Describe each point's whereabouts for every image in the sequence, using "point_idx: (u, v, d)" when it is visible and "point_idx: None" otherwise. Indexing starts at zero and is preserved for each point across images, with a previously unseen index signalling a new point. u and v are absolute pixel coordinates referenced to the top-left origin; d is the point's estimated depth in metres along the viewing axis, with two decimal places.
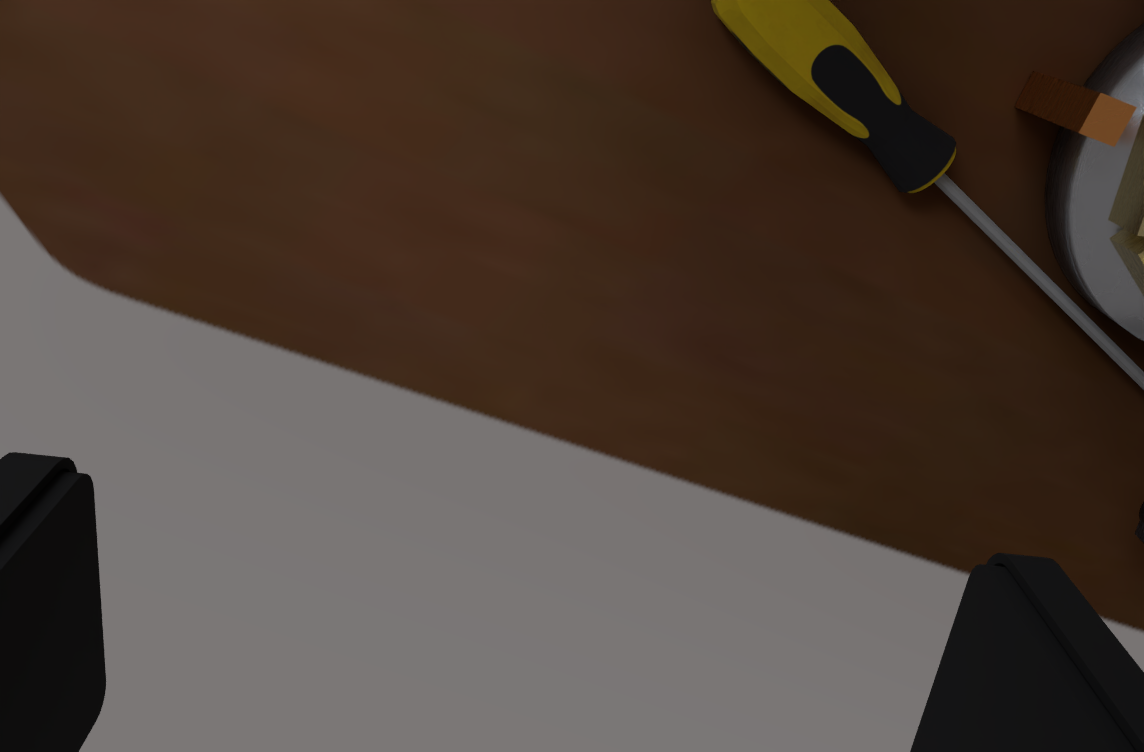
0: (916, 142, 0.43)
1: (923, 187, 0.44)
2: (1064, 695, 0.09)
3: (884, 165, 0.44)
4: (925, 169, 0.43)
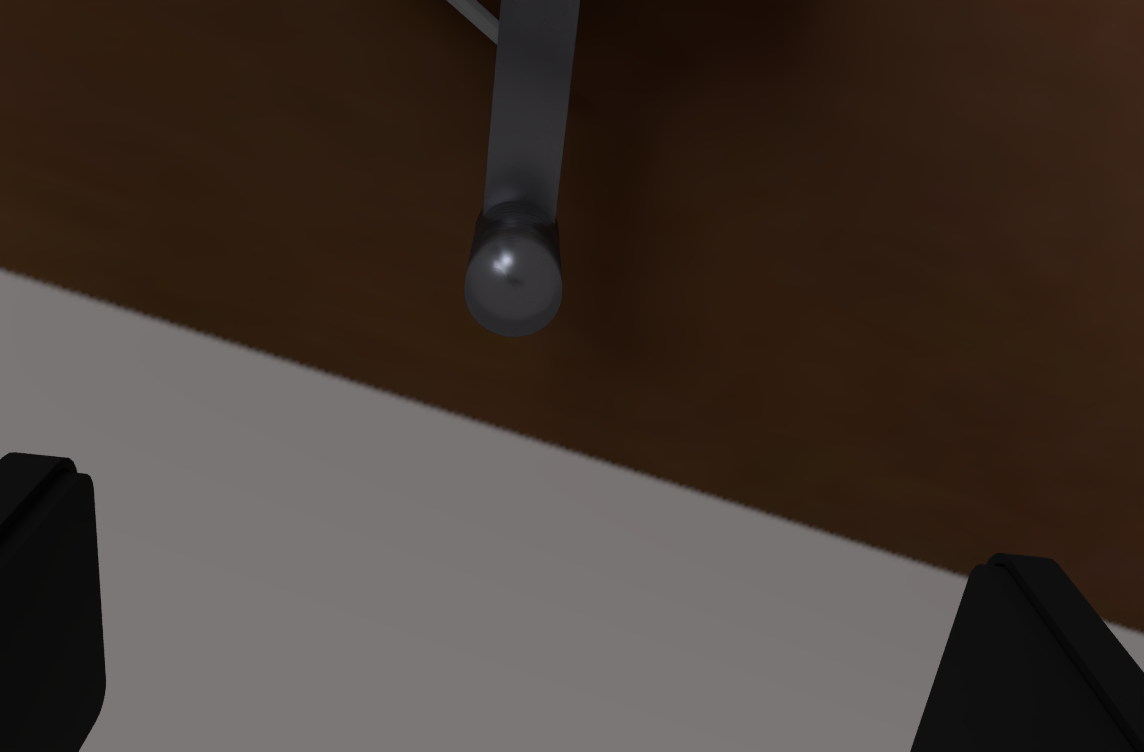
0: None
1: None
2: (1064, 695, 0.09)
3: None
4: None
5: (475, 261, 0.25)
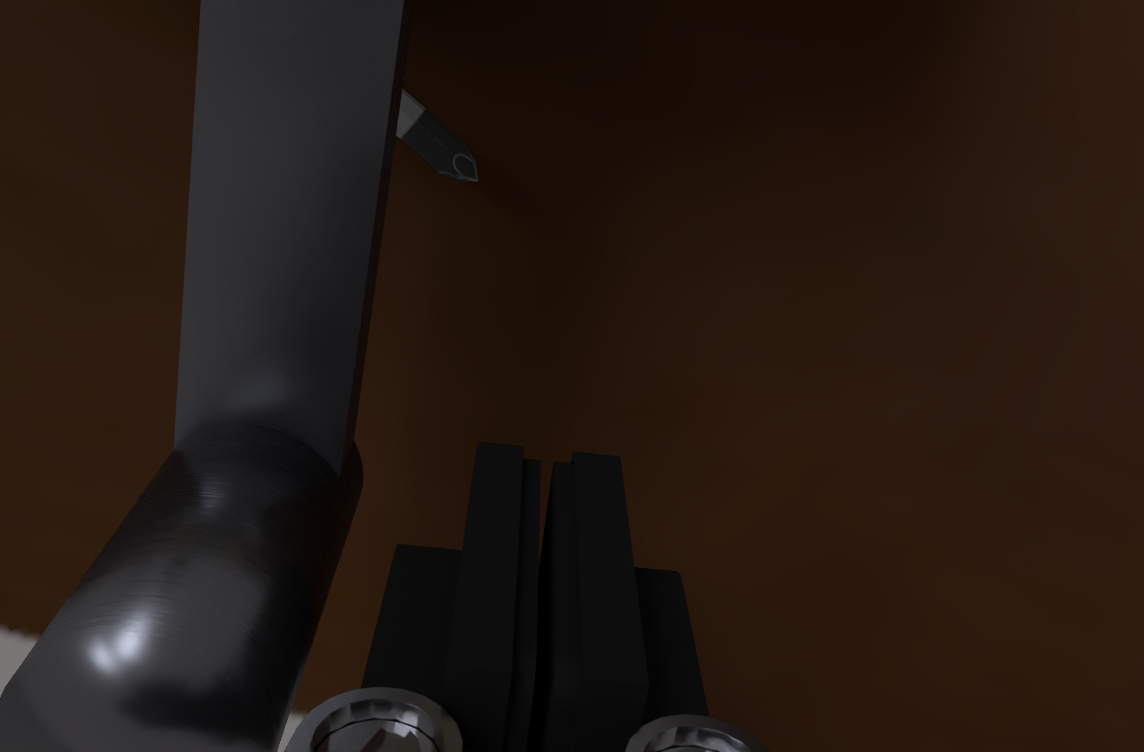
0: None
1: None
2: (555, 563, 0.10)
3: None
4: None
5: (20, 669, 0.09)
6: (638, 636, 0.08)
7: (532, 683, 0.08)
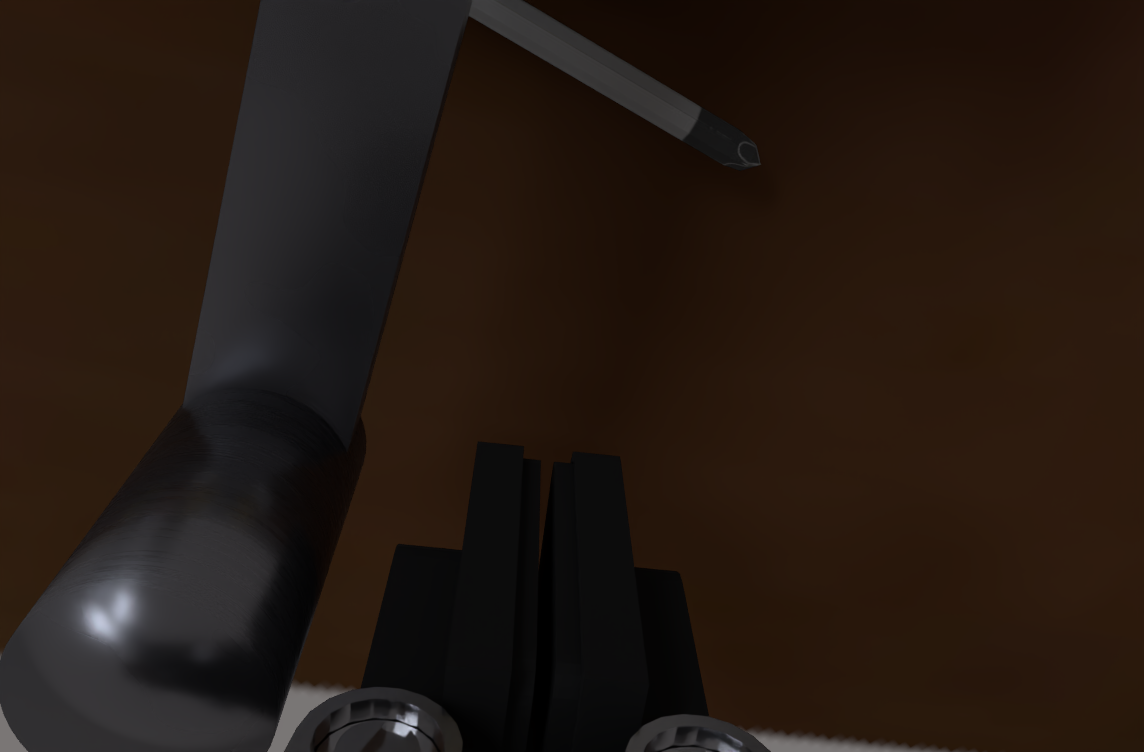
0: None
1: None
2: (555, 563, 0.10)
3: None
4: None
5: (33, 616, 0.09)
6: (638, 636, 0.08)
7: (532, 683, 0.08)
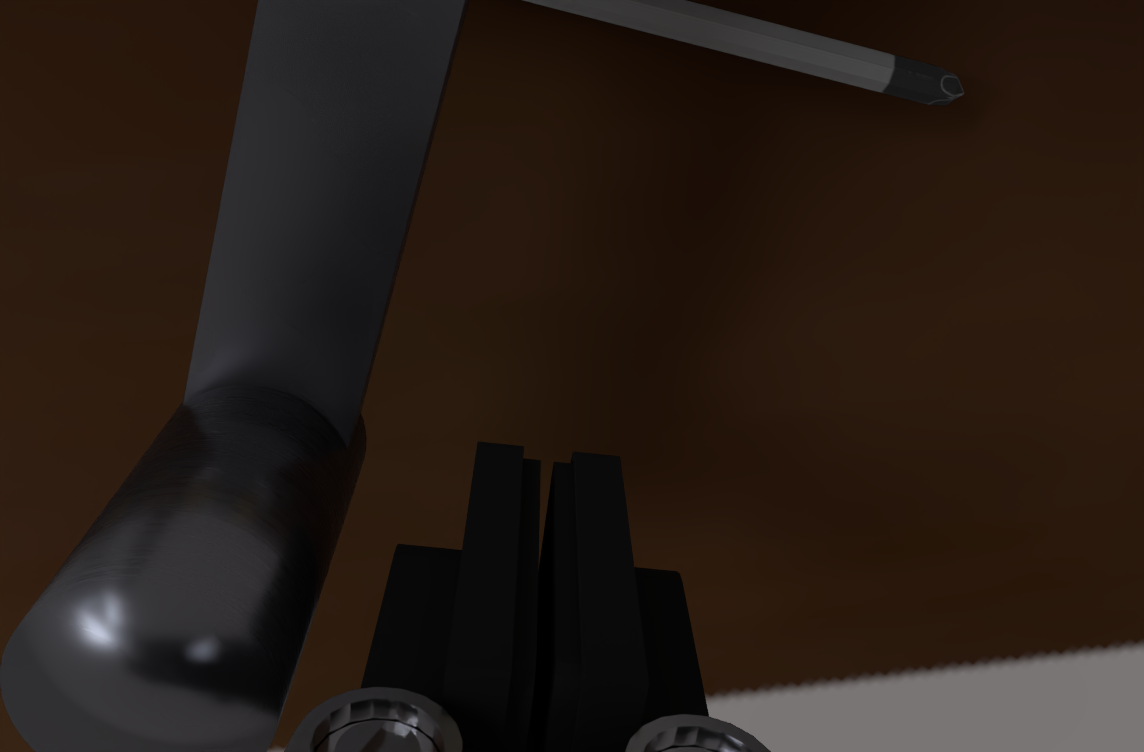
0: None
1: None
2: (555, 563, 0.10)
3: None
4: None
5: (35, 611, 0.09)
6: (638, 636, 0.08)
7: (532, 683, 0.08)
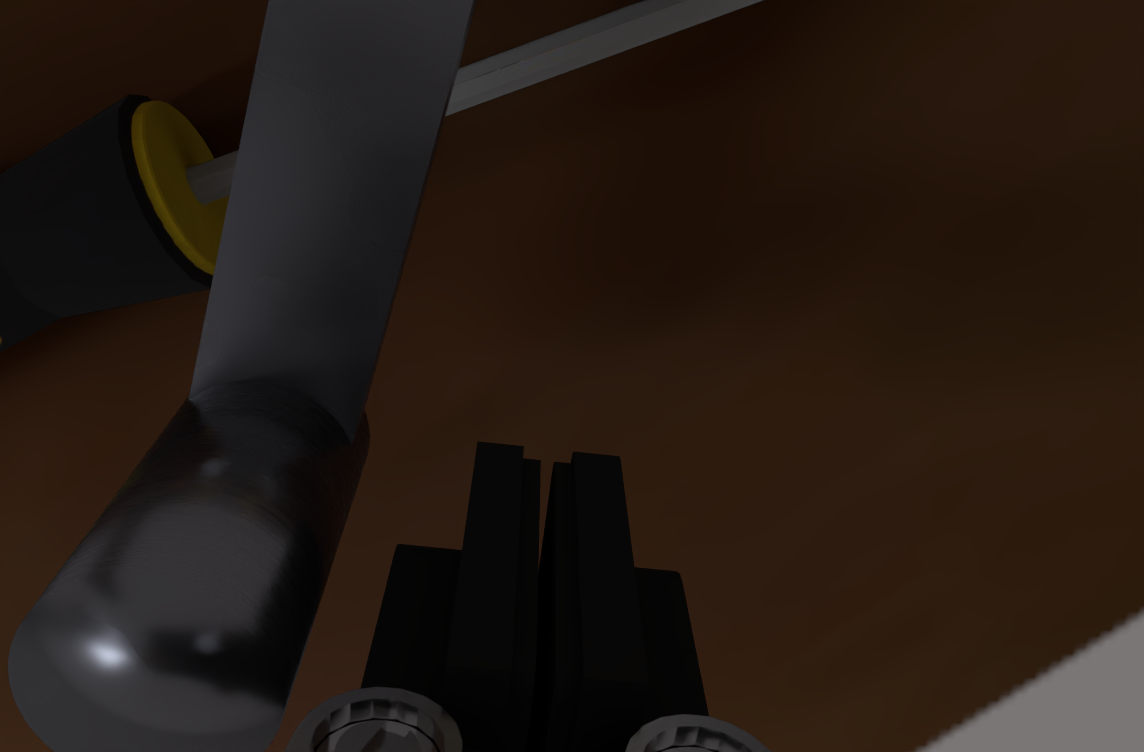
0: (41, 232, 0.15)
1: (193, 256, 0.15)
2: (555, 563, 0.10)
3: (117, 306, 0.16)
4: (125, 243, 0.15)
5: (44, 599, 0.09)
6: (638, 636, 0.08)
7: (532, 683, 0.08)
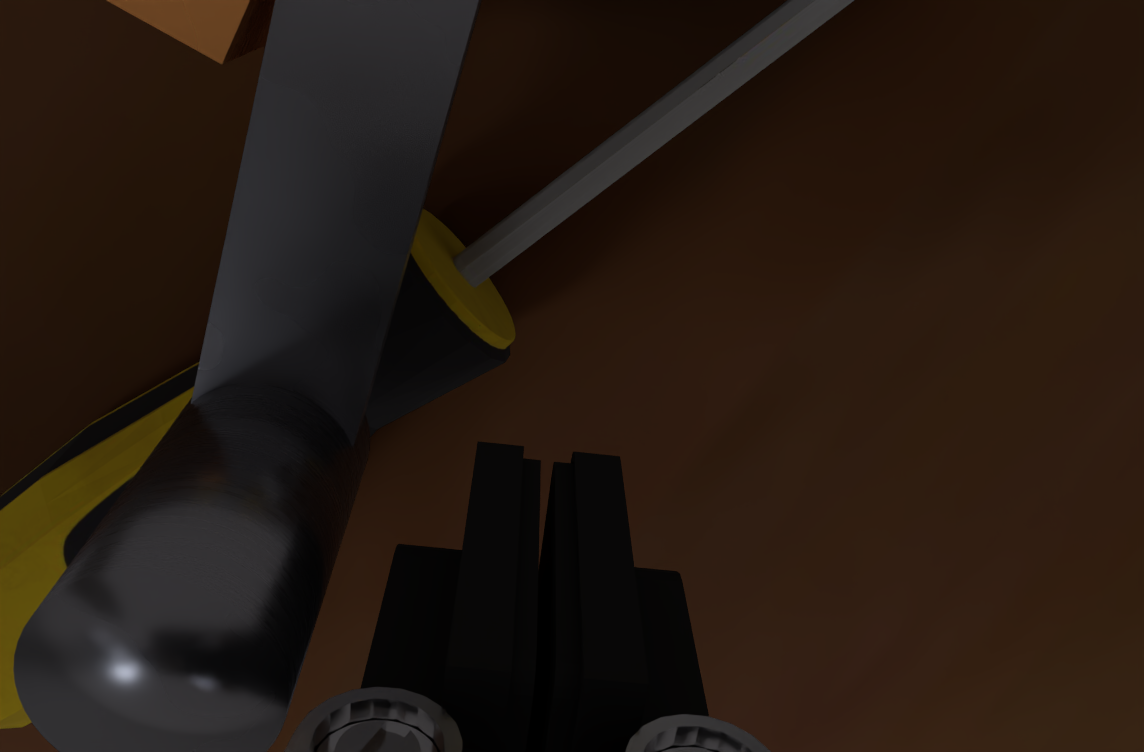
0: None
1: (488, 336, 0.16)
2: (555, 563, 0.10)
3: (424, 403, 0.17)
4: (429, 343, 0.15)
5: (50, 599, 0.09)
6: (638, 636, 0.08)
7: (532, 683, 0.08)
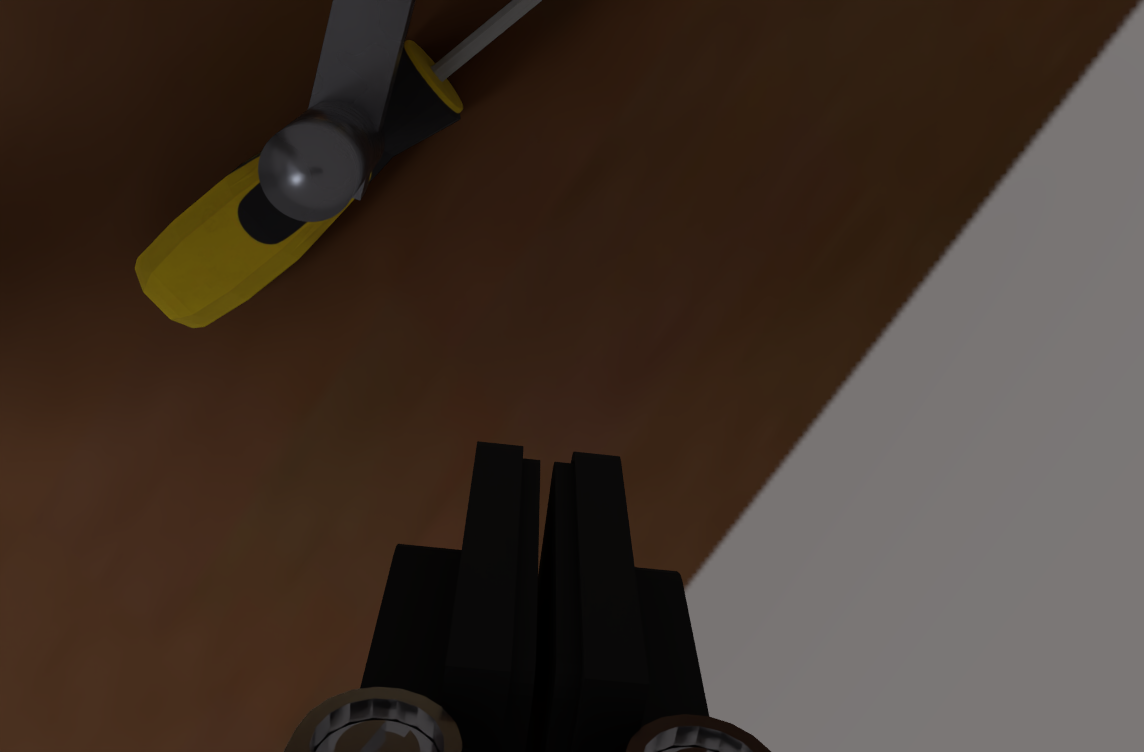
0: None
1: (447, 101, 0.32)
2: (555, 563, 0.10)
3: (416, 143, 0.33)
4: (418, 102, 0.32)
5: (273, 136, 0.25)
6: (638, 636, 0.08)
7: (532, 683, 0.08)
